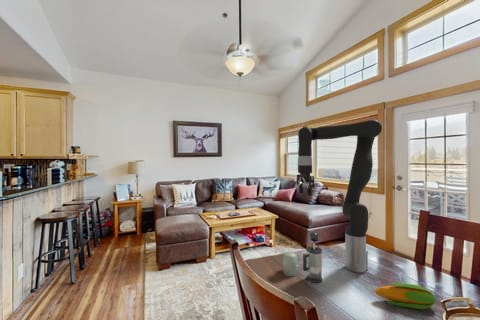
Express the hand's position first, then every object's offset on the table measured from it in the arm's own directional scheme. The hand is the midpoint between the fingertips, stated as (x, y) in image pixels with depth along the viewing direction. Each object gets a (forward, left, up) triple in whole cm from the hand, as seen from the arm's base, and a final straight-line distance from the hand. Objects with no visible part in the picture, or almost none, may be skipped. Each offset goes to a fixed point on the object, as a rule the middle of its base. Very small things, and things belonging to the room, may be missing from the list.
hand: (305, 194), depth 120 cm
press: (+6, +18, -36) cm, 41 cm away
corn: (-17, +42, -36) cm, 58 cm away
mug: (+14, +10, -36) cm, 40 cm away
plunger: (+6, +18, -29) cm, 34 cm away
